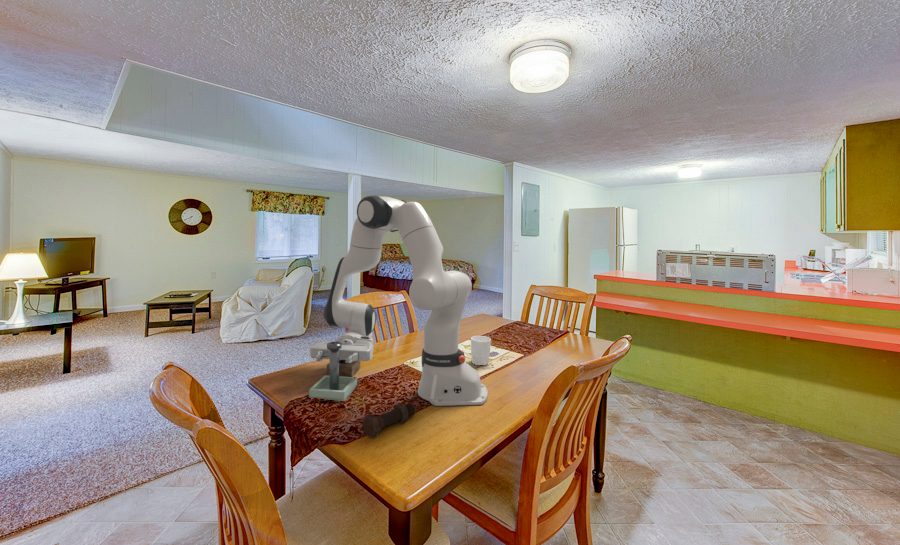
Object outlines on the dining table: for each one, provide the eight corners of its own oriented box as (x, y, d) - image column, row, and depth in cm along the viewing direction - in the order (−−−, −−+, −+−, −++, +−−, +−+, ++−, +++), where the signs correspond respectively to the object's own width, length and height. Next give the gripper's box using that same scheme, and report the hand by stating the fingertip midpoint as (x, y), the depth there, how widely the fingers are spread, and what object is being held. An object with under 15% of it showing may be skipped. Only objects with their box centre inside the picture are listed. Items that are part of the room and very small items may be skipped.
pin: (343, 387, 114) (343, 342, 112) (338, 393, 110) (338, 346, 108) (330, 386, 115) (330, 341, 113) (324, 392, 110) (324, 345, 108)
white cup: (490, 367, 137) (491, 342, 136) (470, 366, 137) (471, 341, 136) (488, 359, 145) (490, 335, 144) (469, 359, 145) (470, 335, 144)
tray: (357, 386, 117) (357, 377, 117) (344, 401, 106) (344, 392, 106) (324, 383, 118) (324, 375, 118) (309, 399, 107) (309, 389, 107)
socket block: (360, 368, 132) (360, 357, 132) (351, 377, 124) (351, 366, 123) (336, 366, 133) (336, 356, 133) (326, 376, 124) (326, 365, 124)
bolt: (414, 422, 100) (369, 442, 89) (404, 408, 103) (359, 426, 91) (422, 408, 98) (377, 428, 86) (411, 394, 100) (367, 411, 89)
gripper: (320, 335, 124) (300, 348, 111) (377, 338, 123) (364, 351, 109) (320, 352, 125) (300, 367, 111) (377, 356, 123) (364, 371, 110)
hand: (332, 359), depth 110 cm, fingers open, 8 cm apart
